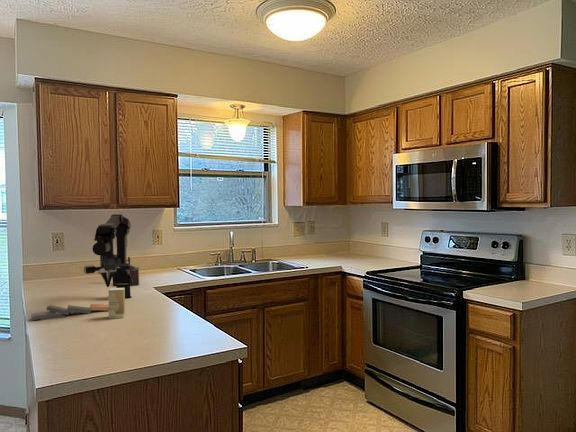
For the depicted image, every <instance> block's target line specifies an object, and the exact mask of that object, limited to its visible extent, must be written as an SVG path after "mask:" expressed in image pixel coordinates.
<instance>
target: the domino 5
mask: <svg viewBox="0 0 576 432" xmlns="http://www.w3.org/2000/svg"><path fill="white" fill-rule="evenodd" d="M89 308H90V309H91V311H106V312H107V311H108V312H109V304H100V303H99V304H97V303H95V304H94V303H90V306H89Z"/></svg>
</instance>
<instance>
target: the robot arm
mask: <svg viewBox="0 0 576 432" xmlns="http://www.w3.org/2000/svg"><path fill="white" fill-rule="evenodd" d="M131 227H132V224H131V222H130V219H129V218H127V217H125V216H124V215H123V214H121V213H120V214H119V213H118V214H114V213H113V214H111V216H110V218H109V219H108V220H107V221H106V222H105V223H101V224H99V225H98V226H97V228H96V230H95V234H94V238H93V239H94V240H93V241H95V243H94V244H93V245H92V252H93V253H94V254H95V255H97V256H99V262H100V263H99V266H95V265H94V264H93V265H84V267H83V273H84V274H95V272H97V274H99V275H101V277H102V279H103V281H104V284H105V286H106V288H110V285H111V282H112V286H113V288H125V299H129V298H130V299H131V298H132V296H131V287H133V286H132V285H133V280H132V277H131V274H130V265H131V264H130V265H129V264H128V263H127V262H126V260H127V237H128V235H129V234H130V232H131V231H130V230H131ZM115 238H116V254H117V259H116V260H115V259H114V239H115Z"/></svg>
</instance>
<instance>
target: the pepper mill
mask: <svg viewBox="0 0 576 432" xmlns="http://www.w3.org/2000/svg"><path fill="white" fill-rule="evenodd" d="M114 259H115V260H116V259H117V253H116V254H114ZM127 262H128V264H129V265H130V274H131V277H132V280H133V285H132V286H131V287H135V286H140V268H139V267H136V266H134V265H132V264H131V257H130V256H128V257H127V259H126V263H127Z"/></svg>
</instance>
